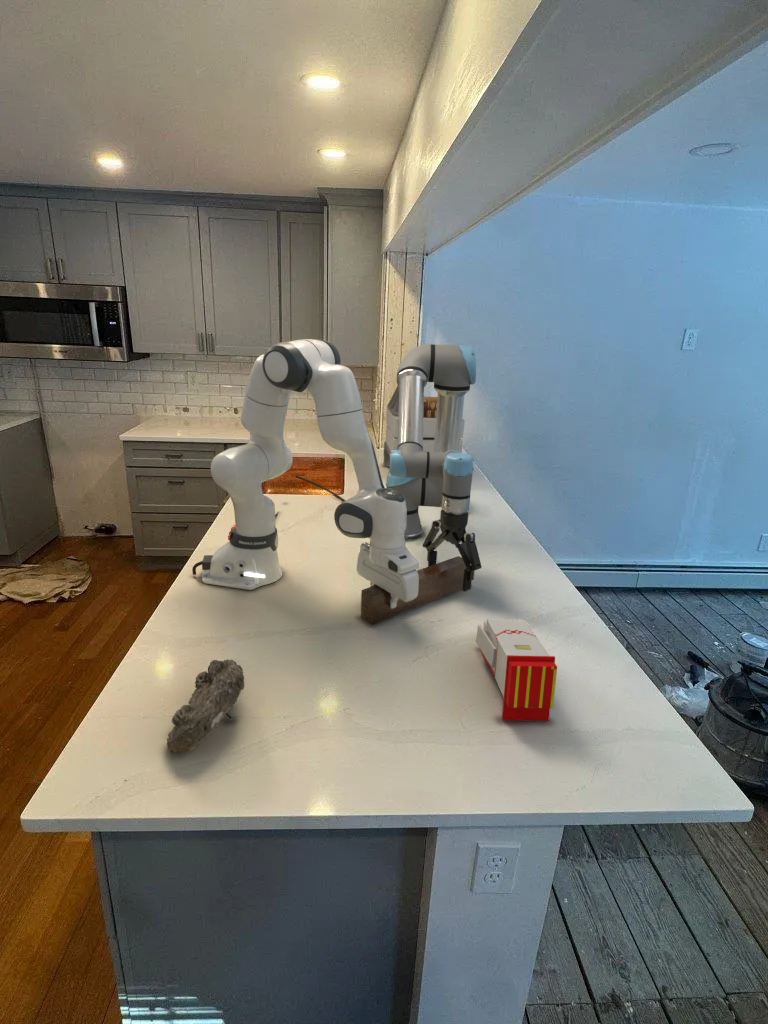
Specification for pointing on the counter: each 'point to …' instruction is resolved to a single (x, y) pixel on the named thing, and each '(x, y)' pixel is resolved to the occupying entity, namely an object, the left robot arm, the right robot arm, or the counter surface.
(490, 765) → the counter surface
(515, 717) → the toy
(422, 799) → the counter surface
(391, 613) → the walnut beam
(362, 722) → the counter surface
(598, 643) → the counter surface
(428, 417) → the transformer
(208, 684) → the fossil
